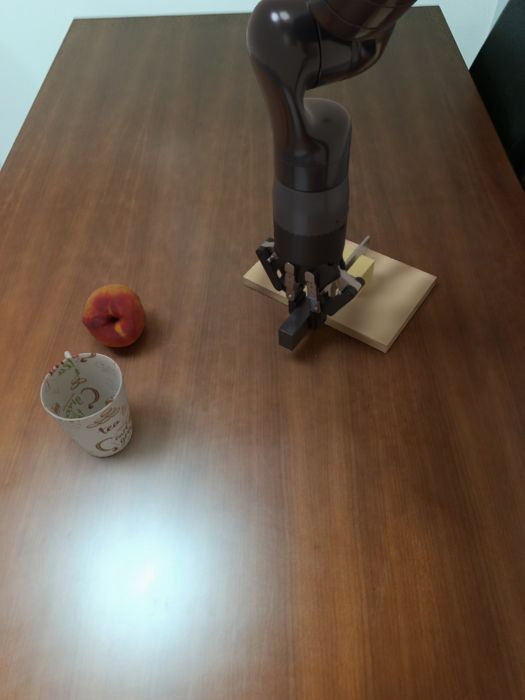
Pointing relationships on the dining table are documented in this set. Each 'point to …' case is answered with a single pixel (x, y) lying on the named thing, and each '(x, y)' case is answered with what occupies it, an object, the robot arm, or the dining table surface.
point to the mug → (89, 402)
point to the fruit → (114, 315)
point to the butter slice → (362, 270)
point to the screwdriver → (300, 317)
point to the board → (368, 299)
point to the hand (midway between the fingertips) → (307, 320)
